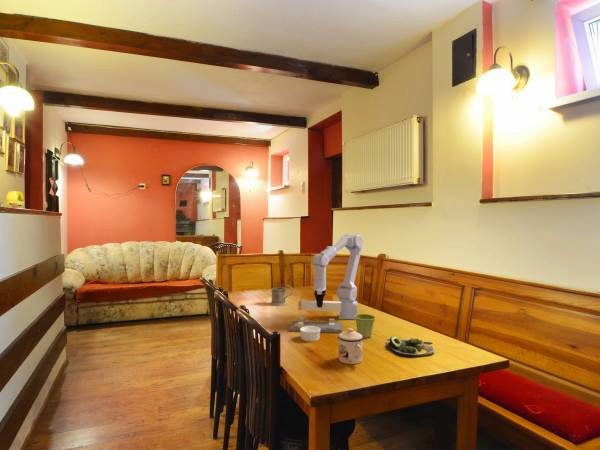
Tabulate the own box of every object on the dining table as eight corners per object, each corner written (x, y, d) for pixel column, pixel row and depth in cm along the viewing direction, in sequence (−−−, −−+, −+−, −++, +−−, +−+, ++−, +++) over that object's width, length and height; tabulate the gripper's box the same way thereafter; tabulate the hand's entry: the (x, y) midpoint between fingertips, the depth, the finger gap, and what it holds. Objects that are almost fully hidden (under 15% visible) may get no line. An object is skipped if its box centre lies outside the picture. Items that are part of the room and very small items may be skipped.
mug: (267, 305, 221) (267, 285, 221) (274, 301, 230) (274, 282, 230) (289, 307, 216) (289, 287, 215) (295, 304, 225) (296, 284, 224)
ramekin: (316, 343, 155) (316, 333, 154) (297, 340, 158) (297, 330, 158) (322, 336, 163) (322, 327, 163) (304, 334, 166) (304, 325, 166)
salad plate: (421, 340, 159) (421, 330, 159) (446, 355, 142) (447, 343, 142) (380, 343, 155) (380, 333, 155) (401, 359, 137) (401, 347, 137)
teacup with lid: (333, 357, 138) (333, 326, 138) (354, 354, 142) (354, 324, 142) (350, 369, 127) (350, 336, 127) (372, 365, 131) (372, 332, 131)
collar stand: (341, 325, 180) (341, 318, 180) (342, 333, 168) (342, 325, 168) (292, 323, 182) (292, 316, 182) (289, 331, 170) (289, 323, 170)
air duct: (341, 309, 183) (341, 301, 183) (341, 311, 179) (341, 303, 178) (299, 308, 185) (299, 299, 185) (298, 310, 181) (298, 301, 181)
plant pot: (376, 333, 167) (376, 314, 167) (373, 340, 158) (374, 320, 158) (356, 331, 170) (356, 313, 170) (352, 338, 161) (352, 318, 161)
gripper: (313, 276, 189) (312, 302, 189) (310, 280, 175) (310, 309, 175) (326, 276, 188) (326, 303, 188) (325, 281, 174) (325, 309, 174)
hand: (319, 306), depth 182 cm, fingers closed on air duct, 4 cm apart
